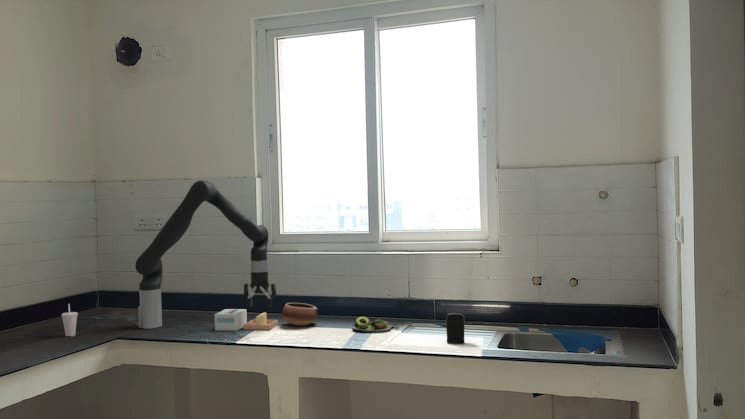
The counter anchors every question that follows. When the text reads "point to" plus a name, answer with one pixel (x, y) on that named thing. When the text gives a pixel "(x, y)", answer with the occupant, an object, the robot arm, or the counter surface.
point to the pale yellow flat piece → (261, 319)
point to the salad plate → (371, 325)
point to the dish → (252, 325)
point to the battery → (455, 328)
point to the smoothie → (69, 322)
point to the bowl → (299, 313)
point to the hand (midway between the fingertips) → (260, 306)
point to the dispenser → (230, 319)
